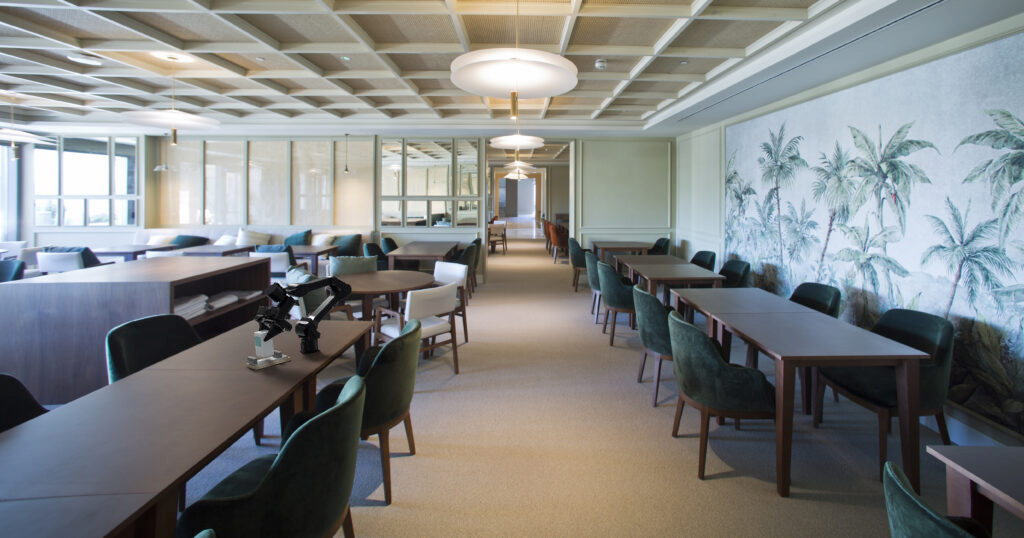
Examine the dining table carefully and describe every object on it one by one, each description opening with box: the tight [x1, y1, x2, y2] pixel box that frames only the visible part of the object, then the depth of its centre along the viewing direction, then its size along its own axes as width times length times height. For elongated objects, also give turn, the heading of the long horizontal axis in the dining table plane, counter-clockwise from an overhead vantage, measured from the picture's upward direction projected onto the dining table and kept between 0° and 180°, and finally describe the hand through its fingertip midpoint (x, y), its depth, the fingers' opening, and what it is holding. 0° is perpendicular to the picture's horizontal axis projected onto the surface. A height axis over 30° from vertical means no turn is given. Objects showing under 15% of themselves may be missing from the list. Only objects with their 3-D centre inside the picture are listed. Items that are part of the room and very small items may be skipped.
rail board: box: [245, 349, 291, 370], centre depth 213 cm, size 15×8×4 cm, turn 145°
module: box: [253, 330, 275, 359], centre depth 211 cm, size 5×4×10 cm
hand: (260, 340), depth 209 cm, fingers closed on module, 4 cm apart
